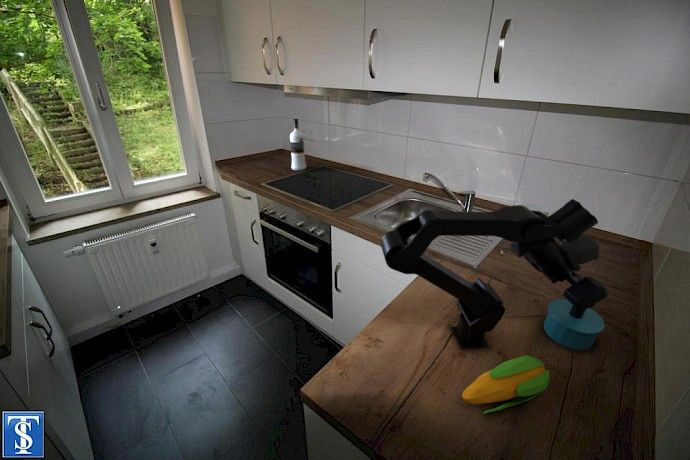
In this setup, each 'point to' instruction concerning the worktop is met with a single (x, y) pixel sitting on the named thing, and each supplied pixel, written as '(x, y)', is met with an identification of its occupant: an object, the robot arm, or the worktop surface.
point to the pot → (567, 335)
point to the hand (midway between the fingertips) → (576, 292)
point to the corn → (509, 383)
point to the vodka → (297, 148)
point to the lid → (576, 318)
